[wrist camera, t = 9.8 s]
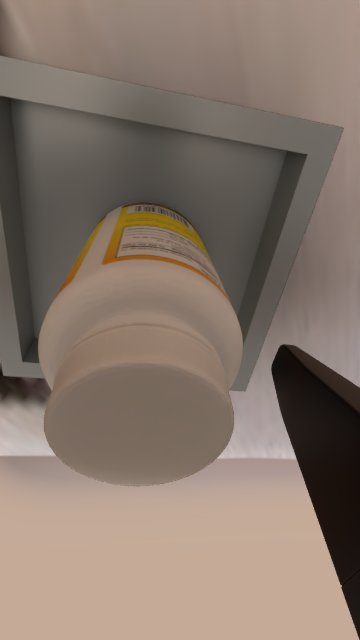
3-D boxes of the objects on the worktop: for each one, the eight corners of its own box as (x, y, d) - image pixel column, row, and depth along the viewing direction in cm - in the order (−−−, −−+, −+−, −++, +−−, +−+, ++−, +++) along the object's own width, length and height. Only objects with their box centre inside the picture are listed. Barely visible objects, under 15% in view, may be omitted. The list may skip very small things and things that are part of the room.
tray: (313, 127, 13) (344, 127, 11) (235, 363, 20) (245, 391, 18) (-18, 59, 11) (-59, 43, 9) (21, 346, 18) (3, 375, 16)
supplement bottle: (121, 321, 17) (87, 527, 8) (66, 226, 14) (-78, 387, 5) (217, 286, 16) (293, 469, 7) (181, 178, 13) (236, 273, 4)
